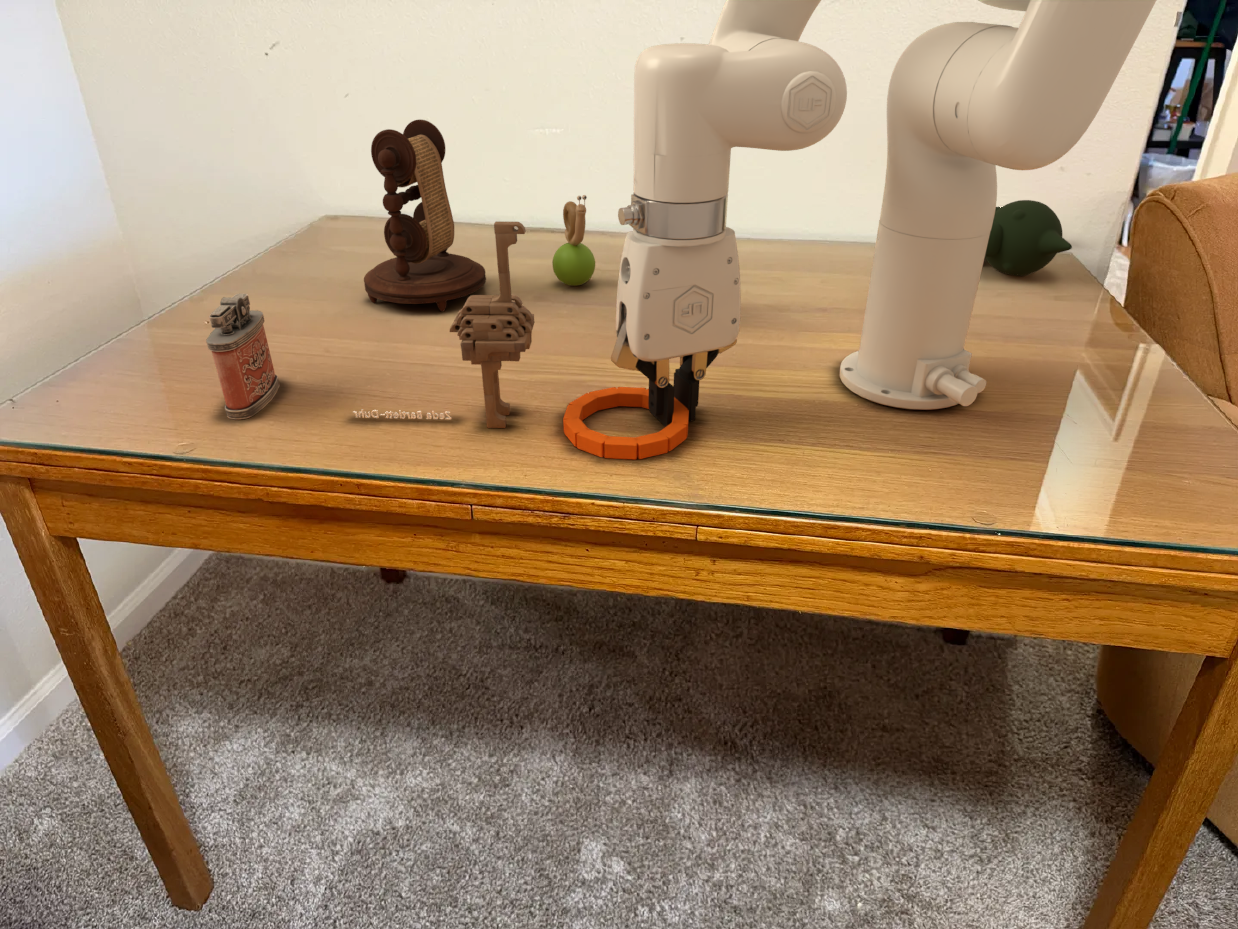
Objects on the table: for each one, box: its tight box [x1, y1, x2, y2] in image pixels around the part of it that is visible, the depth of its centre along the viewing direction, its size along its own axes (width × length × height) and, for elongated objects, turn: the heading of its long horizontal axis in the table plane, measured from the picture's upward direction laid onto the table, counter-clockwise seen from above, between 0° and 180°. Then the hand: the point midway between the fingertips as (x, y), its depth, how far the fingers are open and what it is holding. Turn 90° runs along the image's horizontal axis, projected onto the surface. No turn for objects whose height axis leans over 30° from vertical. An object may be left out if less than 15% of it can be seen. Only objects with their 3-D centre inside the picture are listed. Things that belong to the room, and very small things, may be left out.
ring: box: [562, 386, 689, 460], centre depth 76 cm, size 11×11×1 cm
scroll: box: [363, 119, 487, 312], centre depth 101 cm, size 15×15×20 cm
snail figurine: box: [551, 194, 596, 287], centre depth 105 cm, size 5×6×12 cm
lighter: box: [205, 292, 281, 420], centre depth 78 cm, size 8×3×10 cm, turn 178°
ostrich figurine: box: [352, 221, 535, 429], centre depth 73 cm, size 17×7×18 cm, turn 88°
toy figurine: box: [984, 199, 1073, 277], centre depth 114 cm, size 9×19×25 cm
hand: (673, 416), depth 78 cm, fingers closed on ring, 1 cm apart
